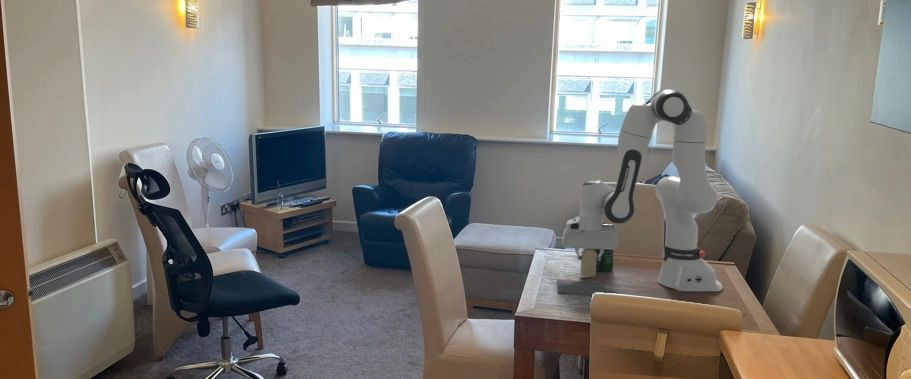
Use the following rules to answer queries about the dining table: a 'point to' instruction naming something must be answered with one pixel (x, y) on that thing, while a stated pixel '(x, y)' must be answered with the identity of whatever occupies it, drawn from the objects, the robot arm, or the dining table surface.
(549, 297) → the dining table surface
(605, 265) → the coffee jar
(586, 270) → the candle
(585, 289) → the placemat
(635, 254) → the dining table surface
